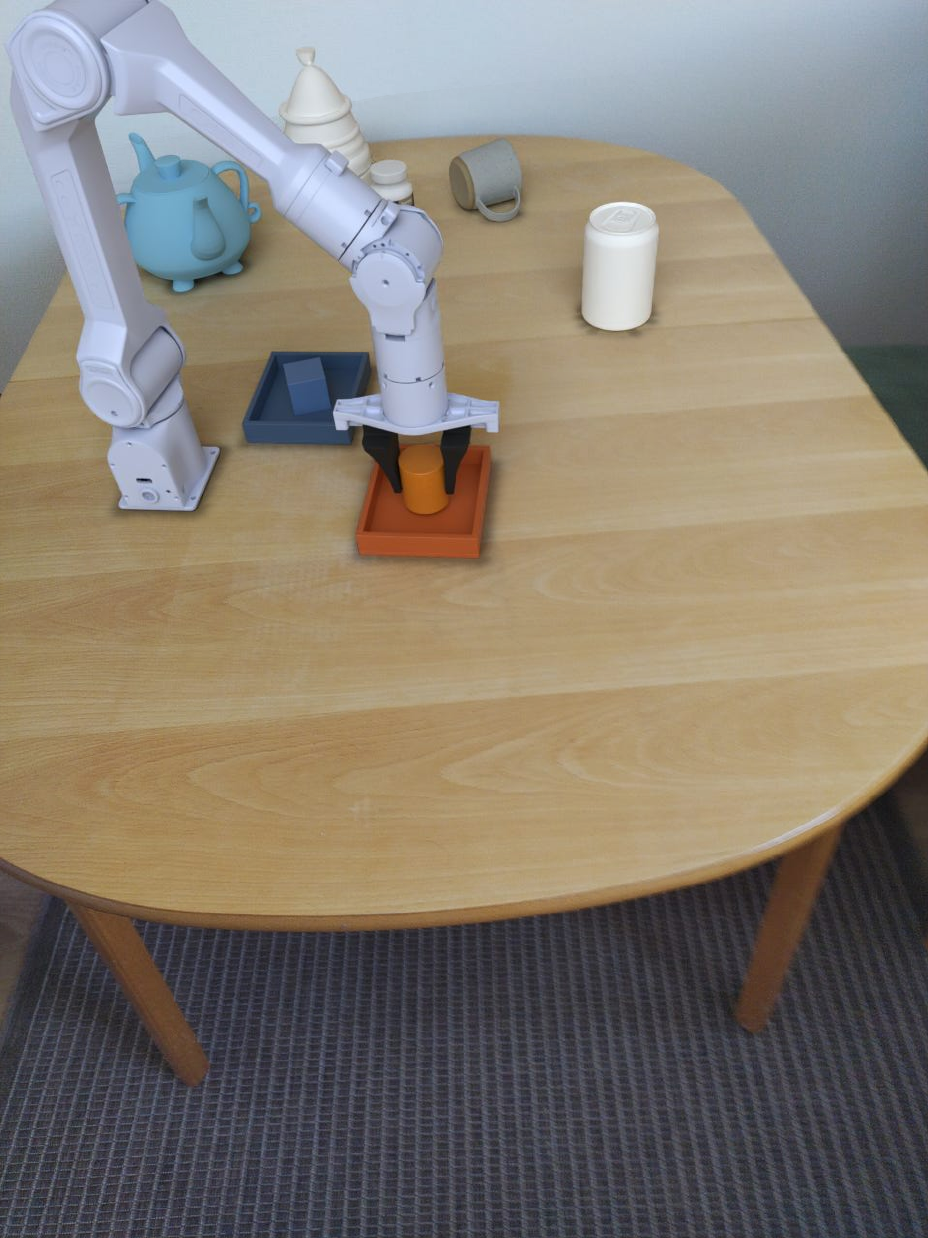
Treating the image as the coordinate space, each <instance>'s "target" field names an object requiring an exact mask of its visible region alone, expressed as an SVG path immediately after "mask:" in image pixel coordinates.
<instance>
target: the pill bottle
mask: <svg viewBox="0 0 928 1238" xmlns="http://www.w3.org/2000/svg"><path fill="white" fill-rule="evenodd" d="M370 176H371V179H372V181H373V183H372V185H371V186H370V187H371V188H372V189H374V190H375V191H376V192H377V193H378V194H379V195H380V196H382V198H384V199H385V200H388V199H390V200H391V201H392V202H394V203H395V204H398V205H410V206H414V207H416V206H415V197H414V196H415V195H414V187H413V185H412V183H411V182H410V181H409V179H407V178H408V166H407V164H406V162H404V161H402V160H400V159H399V160H398V159H384V160H379V161H376V162H374V163H372V166H371V167H370ZM382 198H381V199H382ZM379 202H380V201H379Z"/></svg>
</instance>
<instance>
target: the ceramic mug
mask: <svg viewBox="0 0 928 1238" xmlns="http://www.w3.org/2000/svg"><path fill="white" fill-rule="evenodd" d="M448 167H449V168H448V176H449V177H448V178H449V183H450V188H451V191H452V193H453V196H454V198H455V200H456V202H457V203H458V204H459V205H460V206H461V207H462V208H463V209H465V210H468V211H470V210H478V211H479V212H480V214H482V215H483V216H484V217H485V218H486V219H487V220H489V221H492V222H498V223H503V222H508V221H511V220H513V219H514V218H515V217H517V215H518V213H519V211H520V207H521V200H522V199H521V198H522V197H521V193H522V189H523V180H524V179H523V172H522V171H523V170H522V166H521V162H520V159H519V157H518V154H517V152H516V150H515V147H514V146H513V145H512V144H511V142H510V141H509V140H508V139H507V138H504V137H498V138H496V139H494V140H491V141H489V142H486V143H484V144H481V145H479V146H476V147H474V148H472V149H468V150H465V151H463V152H461V153H460V154H458V155H457V156H455V157H454V158H452V159H451V161H450V164H449V166H448ZM513 199H515V202H516V204H515V206H514V208H513V209H512V210H510V211H506V212H495V211H492V210H490V209H489V208H487V207H488V206H491V205H496V204H499V203H502V202H506V201H510V200H513Z"/></svg>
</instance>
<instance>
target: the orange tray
mask: <svg viewBox="0 0 928 1238" xmlns="http://www.w3.org/2000/svg"><path fill="white" fill-rule="evenodd" d="M416 444H417V443H416ZM416 444H414V443H413V444H412V443H410V444H409V443H402V444H401V443H399V448H400V454H401V453H402V452H403V451H404V450H405V449H406V448H408V447H410V446H413V445H416ZM434 445H435V446H437V447H439V448H440V444H434ZM491 449H492V448H491V445H476V444H475V445H470V444H469V447H468V449H467V452H466V454H465V455H464V457H463V459H462V461H461V463H460V465H459V468H458V470H457V474H456V484H455V490H454V494H453V495H452V494H449V496H450V498H449V502H448V504H447V505H446V506H445V507H444V508H443V509H442V510H440V511H438V512H436V513H432V514H418V513H414V512H412V511H410V510H409V509H408V508H407V507H406V506H405V503H404V498H403V491H402V493H394V490H393V488H392V486H391V484H390V482H389V480H388V478H387V476H386V474H385V473H384V471H383V470H382V468H381V467H380V466H379V464H378V463H377V462H376V461H375V460H374V463H373V466H372V470H371V475H370V478H369V483H368V486H367V490H366V493H365V498H364V501H363V506H362V509H361V514H360V517H359V521H358V525H357V529H356V532H355V533H356V534H355V539H356V545H357V547H358V548H357V549H358V553H359V555H360V556H389V557H390V556H392V557H418V558H419V557H424V558H451V559H454V558H455V559H456V558H457V559H480V556H481V555H480V554H481V547H482V541H483V533H484V525H485V524H484V523H485V516H486V510H487V501H488V493H489V487H490V486H489V485H490V479H491V470H492V452H491V451H492V450H491Z"/></svg>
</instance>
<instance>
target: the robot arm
mask: <svg viewBox="0 0 928 1238" xmlns="http://www.w3.org/2000/svg"><path fill="white" fill-rule="evenodd" d="M4 48H5V50H6V53H7V56H8V60H9V62H10V65H11V80H10V92H9V105H10V110H11V112H12V116H13V120H14V122H15V125H16V128H17V130H18V133H19V136H20V138H21V143H22V144H23V148H24V150H25V153H26V156H27V158H28V159H27V160H28V162H29V164H30V167H31V170H32V173H33V176H34V178H35V181H36V184H37V187H38V190H39V194H40V196H41V198H42V201H43V204H44V207H45V209H46V212H47V215H48V218H49V221H50V223H51V226H52V227H51V228H52V229H53V232H54V235H55V239H56V241H57V243H58V246H59V249H60V252H61V255H62V257H63V260H64V263H65V266H66V269H67V271H68V275H69V277H70V280H71V283H72V286H73V289H74V292H75V295H76V298H77V300H78V303H79V305H80V309H81V311H82V314H83V317H84V321H83V326H82V331H81V334H80V337H79V342H78V346H77V348H76V355H75V360H76V362H77V364H78V369H79V373H80V374H79V375H80V377H79V381H78V390H79V393H80V396H81V399H82V401H83V402H84V403H85V405H86V407H87V408H88V409H89V410H90V411H91V412H92V413H93V414H94V415H95V416H96V417H97V418H99V419H100V420H102V421H103V422H106V423H107V425H108V424H109V425H111V431H112V434H111V441H110V444H109V447H108V450H107V453H106V459H107V463H108V464H107V465H108V467H109V469H110V471H111V473H112V475H113V477H114V480H115V482H116V484H117V487H118V489H119V491H120V493H121V497H120V499H119V501H118V504H117V505H118V507H119V509H121V510H143V511H144V510H147V511H181V512H183V511H185V512H187V511H188V512H191V511H194V510H196V509H197V507H198V505H199V502H200V501H201V498H202V495H203V493H204V492H205V488H206V486H207V484H208V481H209V479H210V477H211V475H212V473H213V470H214V467H215V465H216V462H217V460H218V458H219V456H220V453H221V450H220V448H219V446H202V444H201V441H200V437H199V435H198V432H197V429H196V426H195V423H194V421H193V417H192V413H191V412H190V411H191V410H190V408H189V405H188V403H187V400H186V397H185V394H184V390H183V387H182V386H183V384H184V381H183V378H182V374H181V372H182V370H183V369H184V367H185V366H186V363H187V357H188V356H187V350H186V347H185V345H184V343H183V341H182V339H181V338H180V336H179V335H178V333H177V332H176V331H175V329H174V328H173V326H172V325H171V323H170V321H169V318H168V314H167V311H166V309H165V308H164V307H162V306H160V305H158V304H156V303H152V302H150V301H148V300H147V297H146V294H145V290H144V287H143V286H144V285H143V283H142V279H141V276H140V273H139V269H138V265H137V264H136V262H135V259H134V255H133V252H132V249H131V245H130V242H129V238H128V235H127V232H126V228H125V225H124V218H123V214H122V211H121V208H120V205H119V204H118V201H117V197H116V195H117V193H116V190H115V188H114V185H113V181H112V176H111V174H110V170H109V167H108V163H107V160H106V157H105V152H104V150H103V146H102V143H101V139H100V136H99V134H98V133H99V132H98V130H97V125H96V119H97V116H98V115H99V114H100V113H101V112H102V110H103V109H104V107H105V106H106V104H107V103H109V101H110V100H111V98H112V97H114V109H113V110H114V111H113V112H114V114H115V116H119V117H120V116H121V117H125V116H137V115H149V114H160V113H161V114H162V113H168V114H171V115H173V116H174V117H176V118H177V119H178V120H180V121H181V122H183V123H184V124H185V125H187V126H188V127H189V128H191V129H192V130H194V131H195V132H196V133H197V134H199V135H200V136H201V137H203V138H204V139H206V140H207V141H209V142H210V143H212V145H214V146H215V147H216V148H218V149H220V150H221V151H222V152H224V153H225V154H226V155H228V156H229V157H230V158H232V159H234V161H236V162H238V164H239V165H241V166H242V167H244V168H246V169H247V170H248V171H250V172H251V173H253V174H254V175H255V176H257V177H258V178H259V179H261V180H263V181H264V182H265V183H266V184H267V186H268V190H269V193H270V197H271V202H272V205H273V209H274V211H275V212H277V214H279V215H280V216H281V217H283V218H284V219H285V220H286V221H288V222H289V223H290V224H291V225H293V226H294V227H295V228H296V229H297V230H298V231H300V232H301V233H302V234H303V235H305V236H306V237H307V238H308V239H310V241H312V242H313V243H314V244H316V245H317V246H318V247H319V248H321V249H322V250H323V251H324V252H325V253H326V254H328V255H329V256H330V257H331V258H333V259H334V260H335V261H337V263H339V264H340V265H341V266H342V267H344V268H345V269H346V270H348V272H351V274H352V275H351V276H350V277H349V278H348V279H349V284H350V287H351V289H352V292H353V293H354V295H355V297H356V298H357V299H358V300H359V302H360V303H362V304H363V306H364V307H365V308H366V309H367V311H368V316H369V318H368V319H369V325H370V333H371V339H372V345H373V351H374V359H375V365H376V373H377V379H378V384H379V391H380V392H379V393H375V394H369V395H365V396H364V397H359V398H353V399H338V400H337V401H336V404H335V408H334V411H333V416H334V421H335V426H336V430H347V429H348V428H349V426H356V427H362V439H361V445H362V448H363V451H364V452H365V453H366V454H368V455H369V456H370V457H371V458H372V459H373V460H374V462H375V461H376V462H377V463H378V464H379V466H380V467H381V468H382V470H383V471H384V473H385V474H386V476H387V478H388V480H389V482H390V484H391V486H392V488H393V490H394V493H402V485H401V478H400V471H399V464H398V458H399V456H400V448H399V444H400V439H399V435H403V436H412V437H413V436H414V437H415V436H424V435H429V434H433V433H437V432H442V434H441V439H440V444H439V445H440V451H441V454H442V458H443V463H444V468H445V490H446V494H452V495H453V494H454V490H455V484H456V474H457V470H458V468H459V465H460V463H461V461H462V459H463V457H464V455H465V454H466V452H467V449H468V447H469V445H470V442H471V435H472V431H473V429H475V428H476V429H478V428H480V429H481V428H482V429H483V428H484V429H485V432H487V433H499V431H500V423H501V410H500V409H501V408H500V406H501V405H500V401H499V400H486V399H485V400H484V399H480V398H475V397H471V396H466V395H463V394H460V393H454V392H451V391H448V385H447V375H446V363H445V351H444V341H443V340H444V339H443V330H442V329H443V328H442V318H441V317H442V316H441V310H440V304H439V295H438V283H437V279H436V278H434V276H435V274H436V272H437V271H438V270H437V269H438V268H439V266H440V264H441V261H442V258H443V254H444V241H443V237H442V233H441V231H440V230H439V228H438V226H437V225H436V224H435V222H434V221H433V220H432V219H431V218H430V217H429V215H428V214H427V212H426V211H425V210H423V209H421V208H419V207H417V206H415V205H414V206H415V207H414V206H410V205H398V204H395V203H394V202H392V201H391V200H390V199H388V200H385V199H384V198H382V196H380V195H379V194H378V193H377V192H376V191H375V190H374V189H372V188H371V187H370V186H369V185H368V184H367V183H365V182H364V181H363V180H362V179H361V178H360V177H359V176H357V175H356V174H355V173H354V172H353V171H352V170H350V169H349V168H348V167H347V165H348V164H349V161H348V159H346V158H345V157H344V156H343V155H342V154H341V153H340V152H338V151H337V150H335V151H334V152H333V153H331V152H329V151H328V150H327V149H326V148H325V147H324V146H323V145H321V144H318V143H308V144H298V143H294V142H293V141H292V140H291V139H290V138H289V137H288V136H287V135H286V134H285V133H284V132H283V131H284V130H282V129H281V128H280V127H278V125H277V124H276V123H275V122H273V120H272V119H270V118H269V116H267V115H266V114H265V113H264V112H263V111H262V110H261V109H260V108H259V107H258V106H257V105H256V104H255V103H254V102H253V101H252V100H251V99H250V98H249V97H248V96H247V95H245V93H243V91H241V90H240V88H238V87H237V86H236V85H235V84H234V83H233V82H232V81H231V80H230V79H229V78H228V77H227V76H226V75H225V74H224V73H223V72H222V71H221V70H220V69H218V67H217V66H216V65H214V63H212V62H211V60H210V59H208V58H207V57H206V56H205V55H204V54H203V53H202V52H201V51H200V50H199V49H198V48H197V47H196V46H195V45H193V43H192V42H191V41H190V40H189V38H188V36H187V35H186V33H185V31H184V29H183V27H182V25H181V24H180V22H179V20H178V18H177V17H176V14H175V12H174V11H173V10H172V8H170V7H169V6H168V5H166V4H165V3H163V2H162V1H160V0H54V1H52V2H51V3H49V4H47V5H46V6H45V7H43V8H40V9H36V10H33V11H32V12H30V13H29V14H27V15H26V16H25V17H24V18H23V19H21V21H20V23H18V25H17V26H16V28H15V29H14V30H13V31H12V33H10V35H9V36H8V37H7V39H6V40H5V41H4ZM381 198H382V199H381ZM379 201H380V202H379Z"/></svg>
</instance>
